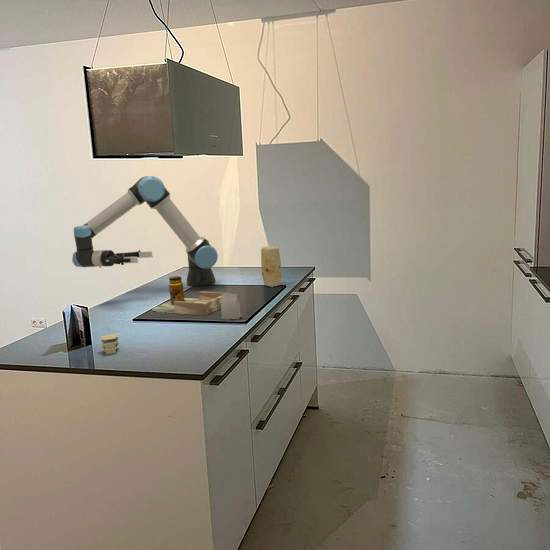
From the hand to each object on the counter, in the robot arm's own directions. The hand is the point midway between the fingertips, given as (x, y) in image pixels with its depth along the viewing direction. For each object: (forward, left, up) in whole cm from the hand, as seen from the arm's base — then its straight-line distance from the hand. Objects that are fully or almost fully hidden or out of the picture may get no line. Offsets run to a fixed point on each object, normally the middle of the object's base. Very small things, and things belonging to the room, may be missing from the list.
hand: (144, 257), depth 271 cm
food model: (-45, +41, -22) cm, 65 cm away
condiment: (+2, +18, -20) cm, 27 cm away
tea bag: (+14, +53, -22) cm, 59 cm away
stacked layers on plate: (+62, +33, -22) cm, 74 cm away
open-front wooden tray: (+3, +26, -22) cm, 34 cm away
